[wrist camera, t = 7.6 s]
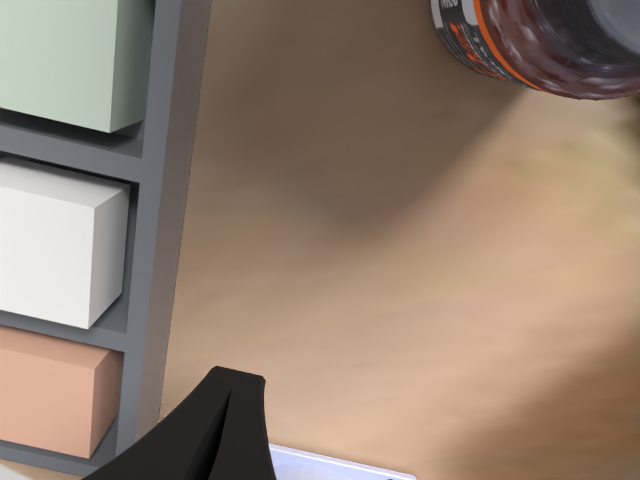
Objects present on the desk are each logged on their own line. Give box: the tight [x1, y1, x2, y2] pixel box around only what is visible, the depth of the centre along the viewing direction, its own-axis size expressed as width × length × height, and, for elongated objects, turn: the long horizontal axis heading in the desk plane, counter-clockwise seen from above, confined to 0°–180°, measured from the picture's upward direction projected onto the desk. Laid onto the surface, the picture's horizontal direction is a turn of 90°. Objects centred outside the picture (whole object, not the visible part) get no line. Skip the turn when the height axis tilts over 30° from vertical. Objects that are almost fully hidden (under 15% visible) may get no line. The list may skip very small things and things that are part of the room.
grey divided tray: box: [0, 0, 211, 477], centre depth 21 cm, size 9×24×4 cm, turn 167°
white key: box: [0, 156, 130, 329], centre depth 20 cm, size 5×5×3 cm
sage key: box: [0, 0, 154, 133], centre depth 18 cm, size 5×5×3 cm
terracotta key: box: [0, 324, 123, 459], centre depth 23 cm, size 5×5×3 cm
